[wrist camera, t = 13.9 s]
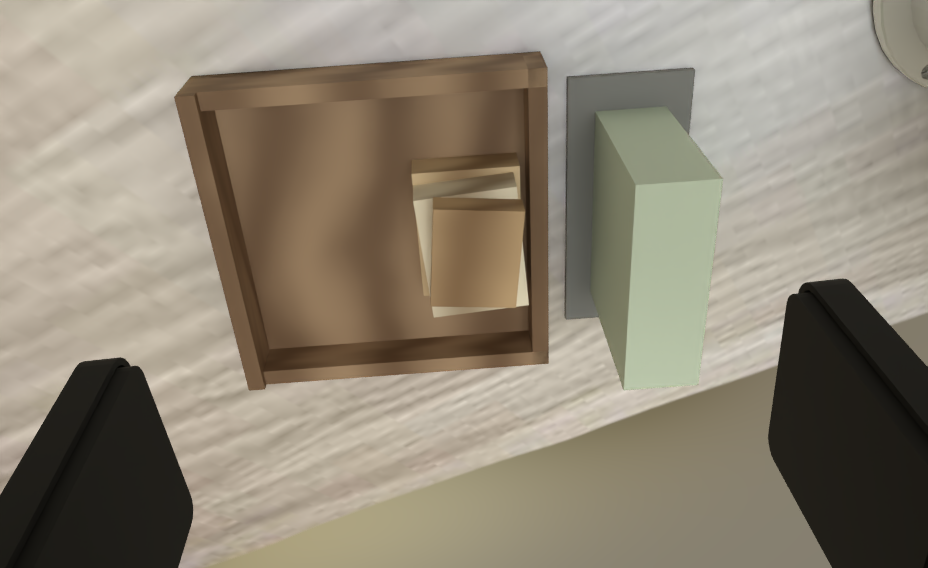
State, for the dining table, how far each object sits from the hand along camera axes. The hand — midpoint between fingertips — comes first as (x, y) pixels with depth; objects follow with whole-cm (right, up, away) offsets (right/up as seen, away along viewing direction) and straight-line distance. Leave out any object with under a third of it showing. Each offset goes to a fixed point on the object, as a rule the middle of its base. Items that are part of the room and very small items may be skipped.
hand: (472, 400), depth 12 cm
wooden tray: (-5, +6, +37) cm, 37 cm away
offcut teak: (0, +4, +33) cm, 33 cm away
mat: (+10, +7, +37) cm, 39 cm away
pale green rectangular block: (+10, +6, +36) cm, 38 cm away
